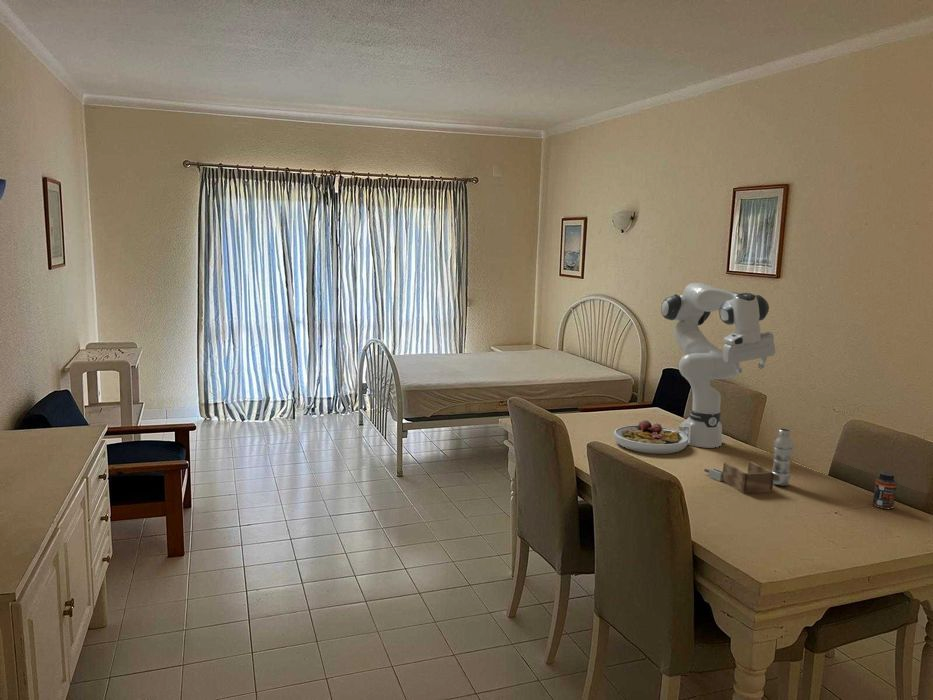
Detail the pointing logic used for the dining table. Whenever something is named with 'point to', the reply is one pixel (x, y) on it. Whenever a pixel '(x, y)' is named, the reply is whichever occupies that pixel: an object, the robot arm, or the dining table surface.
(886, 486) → the supplement bottle
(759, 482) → the end cradle
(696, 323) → the robot arm
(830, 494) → the dining table surface
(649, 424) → the bowl
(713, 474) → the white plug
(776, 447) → the plastic bottle
